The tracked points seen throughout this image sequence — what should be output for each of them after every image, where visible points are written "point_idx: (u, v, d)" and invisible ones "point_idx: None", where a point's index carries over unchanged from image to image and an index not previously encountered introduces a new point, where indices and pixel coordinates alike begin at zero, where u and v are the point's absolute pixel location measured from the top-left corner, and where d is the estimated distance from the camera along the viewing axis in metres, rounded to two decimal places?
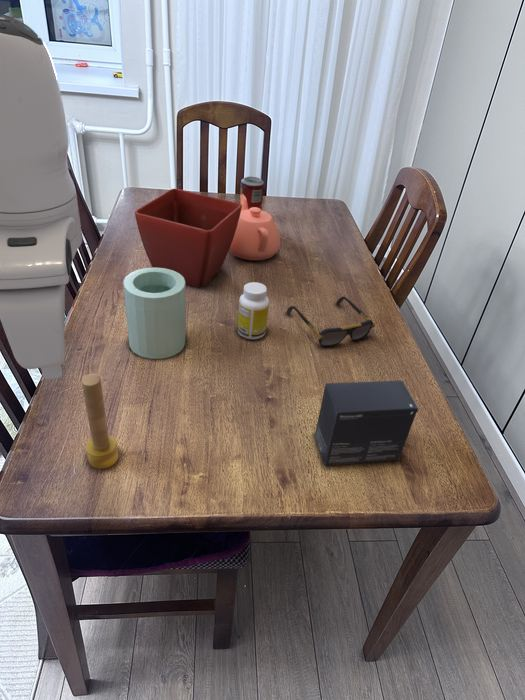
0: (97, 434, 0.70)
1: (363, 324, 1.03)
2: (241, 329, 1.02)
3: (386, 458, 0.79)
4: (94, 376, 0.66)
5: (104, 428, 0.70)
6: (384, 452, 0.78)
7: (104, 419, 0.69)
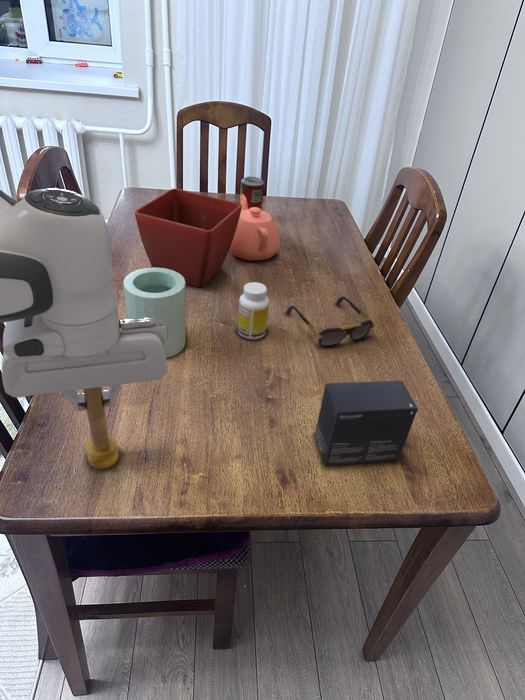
0: (97, 434, 0.70)
1: (363, 324, 1.03)
2: (241, 329, 1.02)
3: (386, 458, 0.79)
4: None
5: (104, 428, 0.70)
6: (384, 452, 0.78)
7: (104, 419, 0.69)
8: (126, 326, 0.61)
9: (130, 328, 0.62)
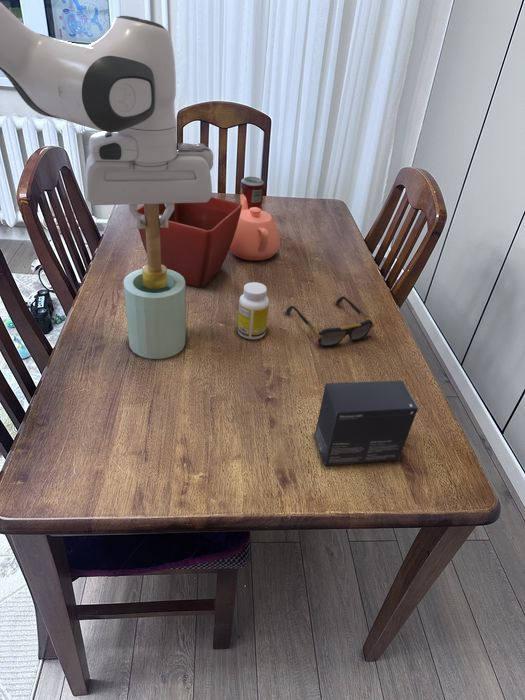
0: (153, 254, 0.86)
1: (362, 324, 1.03)
2: (241, 329, 1.02)
3: (386, 458, 0.79)
4: None
5: (158, 249, 0.86)
6: (384, 452, 0.78)
7: (159, 240, 0.85)
8: (182, 147, 0.77)
9: (185, 150, 0.77)
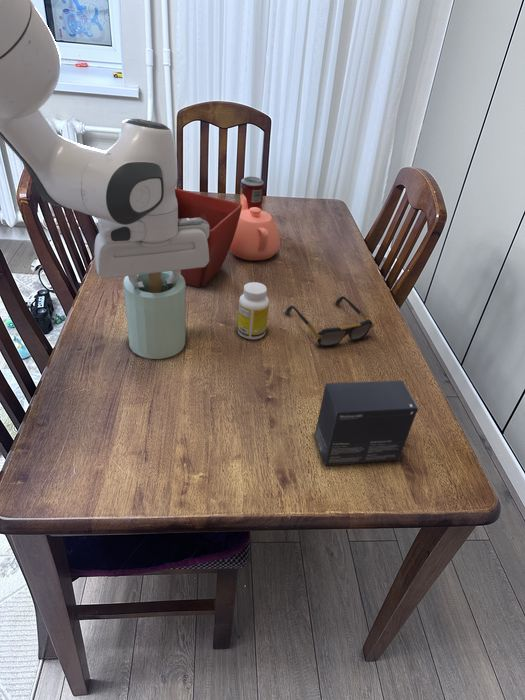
0: None
1: (362, 324, 1.03)
2: (241, 329, 1.02)
3: (386, 458, 0.79)
4: None
5: None
6: (384, 452, 0.78)
7: None
8: (182, 223, 0.85)
9: (185, 224, 0.86)
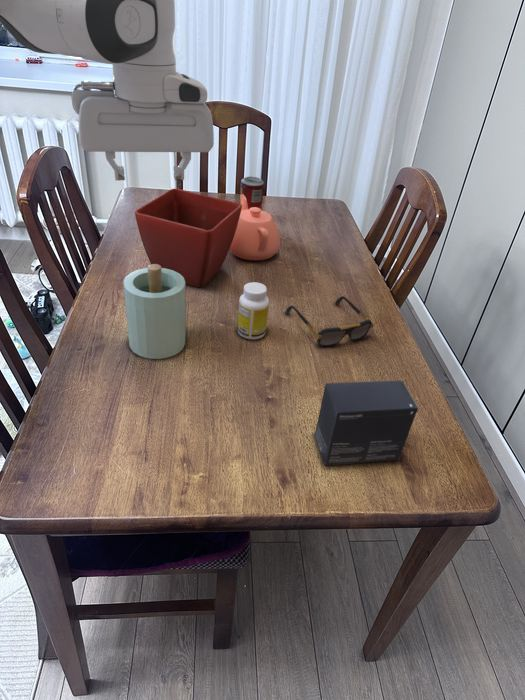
0: None
1: (362, 324, 1.03)
2: (241, 329, 1.02)
3: (386, 458, 0.79)
4: (156, 265, 0.89)
5: None
6: (384, 452, 0.78)
7: None
8: None
9: None
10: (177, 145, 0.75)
